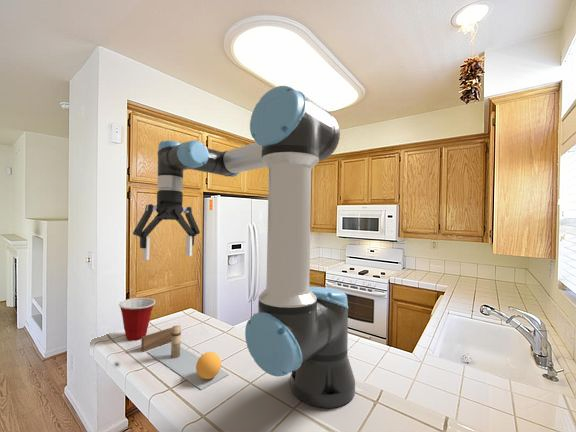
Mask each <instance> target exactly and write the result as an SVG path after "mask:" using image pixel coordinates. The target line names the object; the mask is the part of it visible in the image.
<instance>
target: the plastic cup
mask: <svg viewBox="0 0 576 432" xmlns="http://www.w3.org/2000/svg"><path fill="white" fill-rule="evenodd" d="M155 304H156V300H155V299H152V298H149V297H133V298H127V299H124V300H123V301H120V302H119V304H118V306H119V308H120V311H121V317H122V321H123V322H122V323H123V329H124V334H125V335H124V336H125V338H126V341H130V342H134V341H139V340H142V337H143V336H146V335H147V332H148V327H149V323H150V320H151V315H152V310H153V308H154V306H155Z"/></svg>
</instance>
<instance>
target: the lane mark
mask: <svg viewBox="0 0 576 432" xmlns="http://www.w3.org/2000/svg"><path fill="white" fill-rule="evenodd" d="M146 353H147V354H148V355H151V356H152V357H153V358H155V359H156V360H157V361H159V362H160V363H162V364H163V365H164V366H166V367H167V368H169V369H170V370H171V371H173V372H175V373H176V374H177V375H179V376H180V377H182V378H183V379H185V381H187V382H189V383H190V384H192V385H194V386H195V387H196V388H198V389H199V390H200V391H202V390H204V389H206V388H208V387H210V386H211V385H213V384H215V383H217V382H219V381H221V380H222V379H224V378H226V377H227V376H229V375H230V374H229V373H228V372H227V371H224V370H223V369H221V368H220V371H219V372H218V374H217V375H216V376H215V377H213V378H211V379H202V378H201V377H199V375H198V374H197V371H196V364H197V361H198V359H199V358H200V357H201V356H198V355H196V354H194V353H192V352H191V351H189V350H187V349H185V348H183V347H182V346H180V357H178V358H171V342H170V343H167V344H164V345H161V346H158V347H156V348H153V349H150V350H147V351H146Z"/></svg>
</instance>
